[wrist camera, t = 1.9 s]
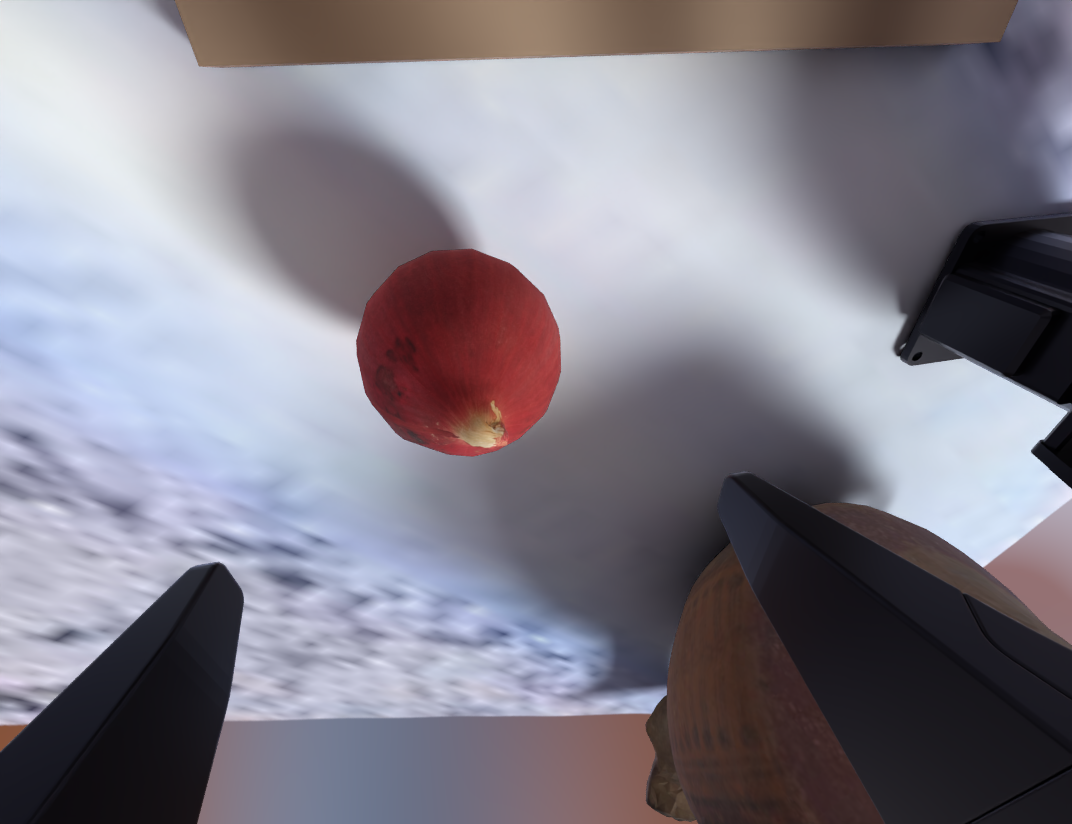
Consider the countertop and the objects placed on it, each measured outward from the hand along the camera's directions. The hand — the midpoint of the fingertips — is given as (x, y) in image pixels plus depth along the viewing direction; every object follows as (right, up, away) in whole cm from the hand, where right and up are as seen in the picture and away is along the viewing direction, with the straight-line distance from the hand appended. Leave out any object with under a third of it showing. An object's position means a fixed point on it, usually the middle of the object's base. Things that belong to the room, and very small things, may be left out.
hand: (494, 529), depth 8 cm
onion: (-2, +6, +8) cm, 11 cm away
